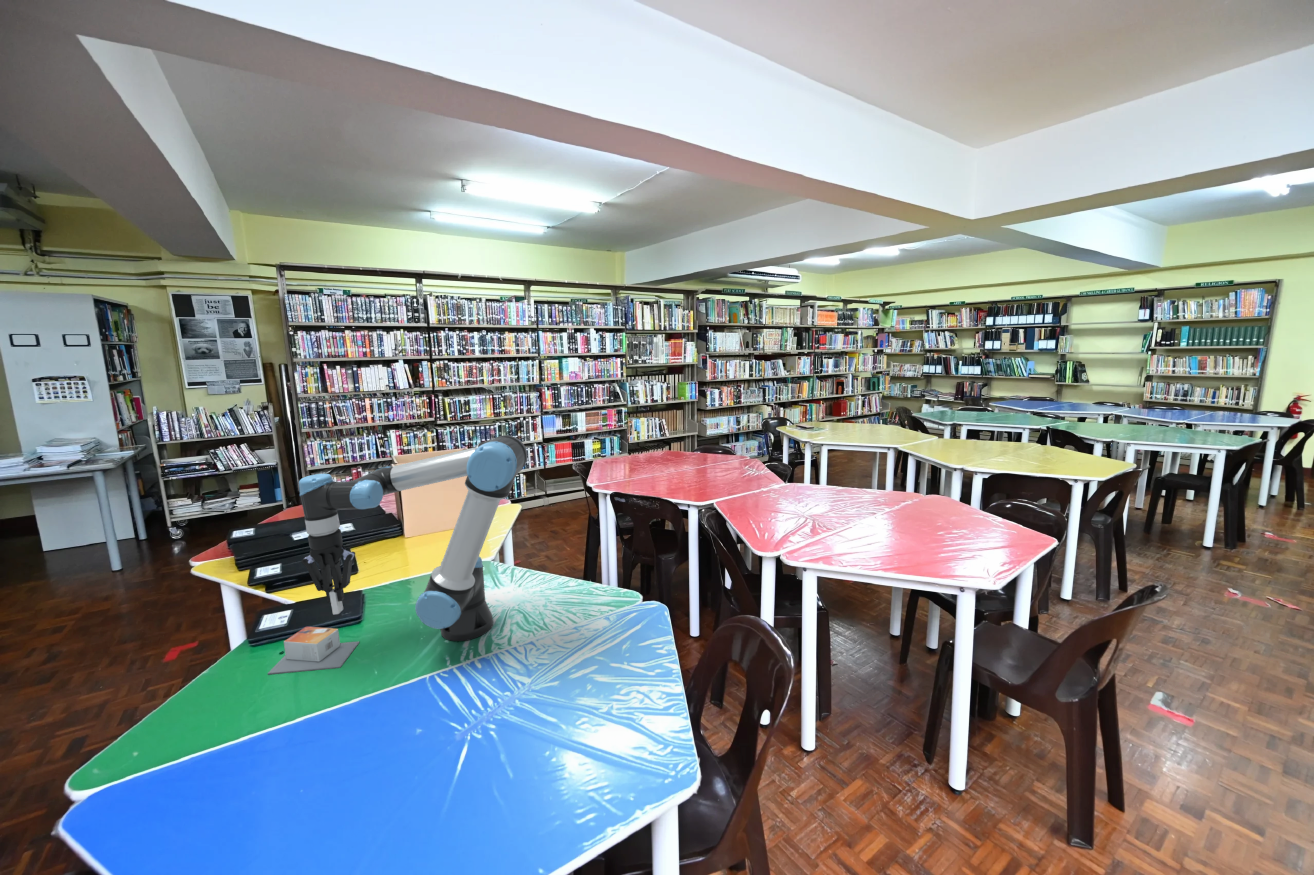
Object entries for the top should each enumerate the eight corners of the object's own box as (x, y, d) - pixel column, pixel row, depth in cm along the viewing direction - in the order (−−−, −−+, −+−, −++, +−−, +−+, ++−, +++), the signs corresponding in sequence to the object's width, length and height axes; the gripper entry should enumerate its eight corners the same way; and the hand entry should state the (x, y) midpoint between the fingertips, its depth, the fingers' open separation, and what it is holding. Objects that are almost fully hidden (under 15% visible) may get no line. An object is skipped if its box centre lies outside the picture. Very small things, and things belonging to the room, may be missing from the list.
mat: (359, 642, 148) (359, 641, 148) (340, 667, 136) (340, 666, 136) (293, 648, 145) (292, 647, 145) (267, 674, 134) (267, 673, 133)
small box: (317, 643, 137) (282, 641, 138) (319, 662, 138) (285, 659, 139) (338, 627, 145) (305, 625, 146) (341, 645, 146) (308, 643, 147)
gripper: (356, 524, 140) (368, 602, 144) (305, 528, 138) (319, 607, 142) (343, 533, 132) (357, 615, 136) (290, 538, 131) (305, 621, 135)
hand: (338, 611), depth 139 cm, fingers closed
